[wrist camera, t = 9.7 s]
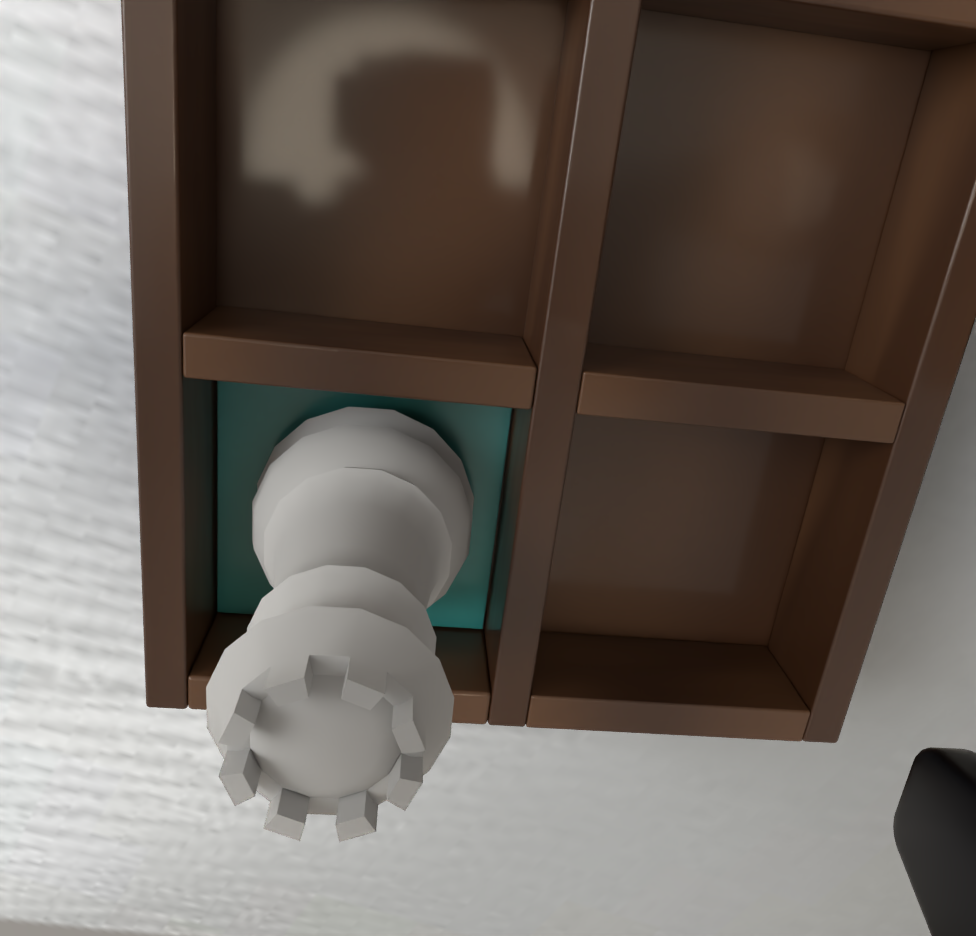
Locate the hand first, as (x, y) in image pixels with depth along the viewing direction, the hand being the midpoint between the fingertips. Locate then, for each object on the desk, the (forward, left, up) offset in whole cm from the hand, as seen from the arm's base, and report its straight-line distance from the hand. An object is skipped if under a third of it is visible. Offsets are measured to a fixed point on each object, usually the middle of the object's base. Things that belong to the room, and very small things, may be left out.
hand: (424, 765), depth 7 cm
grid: (-2, -1, -11) cm, 11 cm away
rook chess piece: (+1, +2, -11) cm, 11 cm away
